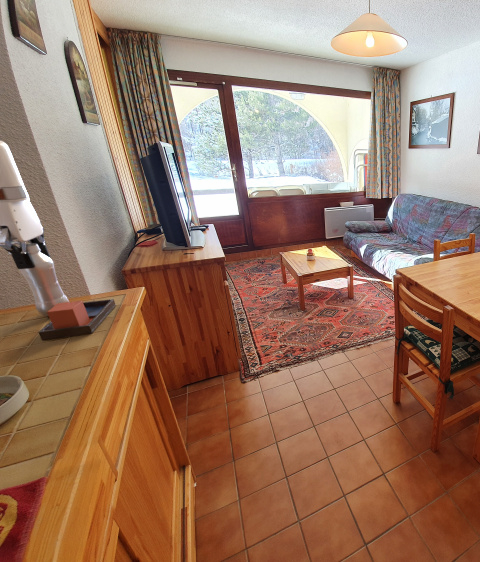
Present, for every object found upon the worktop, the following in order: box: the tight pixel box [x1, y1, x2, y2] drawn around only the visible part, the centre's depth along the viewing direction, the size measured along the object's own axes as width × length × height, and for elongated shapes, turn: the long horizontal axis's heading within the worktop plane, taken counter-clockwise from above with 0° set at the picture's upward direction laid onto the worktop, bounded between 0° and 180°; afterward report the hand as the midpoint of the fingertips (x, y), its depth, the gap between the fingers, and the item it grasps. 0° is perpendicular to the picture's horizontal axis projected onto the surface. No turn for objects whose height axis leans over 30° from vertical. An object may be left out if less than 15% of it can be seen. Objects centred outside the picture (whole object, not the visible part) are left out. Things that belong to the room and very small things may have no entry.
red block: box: [47, 300, 90, 329], centre depth 79 cm, size 5×5×6 cm
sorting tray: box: [37, 298, 117, 342], centre depth 83 cm, size 10×16×2 cm, turn 20°
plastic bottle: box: [16, 243, 70, 317], centre depth 84 cm, size 6×7×20 cm
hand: (35, 263), depth 82 cm, fingers closed on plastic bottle, 6 cm apart
